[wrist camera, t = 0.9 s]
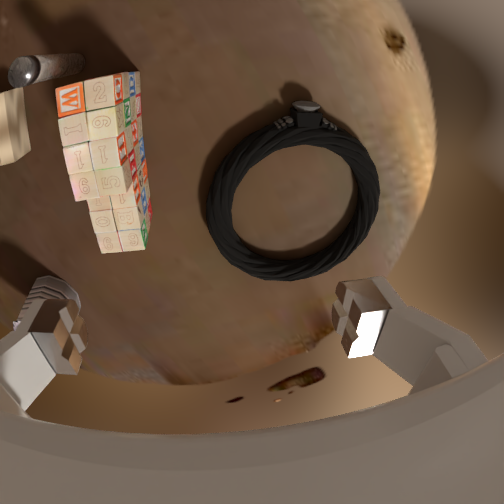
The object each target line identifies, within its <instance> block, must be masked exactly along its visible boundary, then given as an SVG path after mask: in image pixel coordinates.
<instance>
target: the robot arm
mask: <svg viewBox="0 0 504 504" xmlns="http://www.w3.org/2000/svg"><path fill="white" fill-rule="evenodd" d="M335 293H336V295H337V297H338V299H337V300H336V301H335V302H334V303H333V307H332V322H333V326H334V328H335V331H336V332H337V333H338V334H340V335H342V336H343V337H342V341H341V344H342V345H343V348H344V350H345V352H346V354H347V356H348V358H351V357H356V356H361V355H367V354H372V353H373V354H372V355H373V356H375V357H376V358H377V359H379V360H380V361H381V362H383V363H384V364H385V365H386V366H388V367H389V368H390V369H392V370H393V371H394V372H396V373H397V374H398V375H399V376H401V377H402V378H403V379H405V380H406V381H407V382H409V383H410V384H411V385H412V386H413V387H412V389H411V390H410V392H409V393H408V395H407V396H404V397H402V398H399V399H395V400H392V401H390V402H386V403H383V404H379V405H376V406H373V407H369V408H366V409H362V410H358V411H354V412H351V413H346V414H343V415H338V416H334V417H329V418H325V419H320V420H315V421H309V422H304V423H298V424H293V425H287V426H280V427H273V428H266V429H258V430H248V431H238V432H225V433H210V434H139V433H123V432H112V431H102V430H93V429H86V428H78V427H72V426H66V425H60V424H55V423H49V422H45V421H40V420H35V419H32V418H31V417H30V416H29V415H28V414H27V413H26V412H25V410H26V409H27V408H28V407H29V406H30V404H31V403H32V402H33V401H34V400H35V398H36V397H37V396H38V395H39V394H40V393H41V391H42V390H43V389H44V388H45V387H46V386H47V385H48V383H49V382H50V381H51V380H52V379H53V378H54V377H55V375H56V374H73V375H77V374H78V371H79V367H80V364H81V361H82V357H81V355H80V353H81V352H82V351H83V350H84V349H85V348H86V346H87V342H88V330H87V326H86V324H85V321H84V320H83V319H82V318H81V317H80V316H79V315H78V312H79V307H78V305H77V303H76V301H75V300H73V299H35V300H33V302H32V303H31V305H30V307H29V308H28V310H27V312H26V313H25V315H24V317H23V318H22V320H21V322H20V324H19V325H18V327H17V329H16V331H12V332H10V333H9V334H8V335H6V336H5V337H4V338H2V339H1V340H0V504H504V353H503V354H501V355H499V356H498V357H496V358H494V359H492V360H490V361H488V360H487V359H486V357H485V356H484V354H483V353H482V352H481V350H480V349H479V348H478V346H477V345H476V344H475V342H474V341H473V340H472V338H471V337H470V336H469V335H468V334H466V333H464V332H462V331H460V330H458V329H456V328H454V327H452V326H450V325H448V324H446V323H444V322H442V321H440V320H438V319H436V318H434V317H432V316H430V315H428V314H427V313H424V312H423V311H421V310H419V309H417V308H415V307H413V306H407V305H406V304H405V303H404V302H403V300H402V299H401V298H400V296H399V295H398V294H397V292H396V291H395V290H394V289H393V288H392V286H391V285H390V284H389V282H388V281H387V280H386V279H385V278H384V277H382V276H377V277H371V278H367V279H359V280H351V281H342V282H339V283H338V285H337V287H336V292H335ZM55 373H56V374H55Z"/></svg>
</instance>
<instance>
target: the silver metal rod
mask: <svg viewBox="0 0 504 504" xmlns="http://www.w3.org/2000/svg"><path fill="white" fill-rule="evenodd" d="M84 66H85V59H84V57H83V55H81V54H78V53H76V54H49V55H35V56H33V55H30V56H21V57H19V58H17V59H15V60H14V61H13V63H12V64H11V66H10V68H9V71H8V80H9V83H10V84H11V85H12V86H13V87H15V88H21V87H24V86H28V85H31V84H33V83H37V82H41V81H46V80H50V79H54V78H59V77H64V76H69V75H74V74H78V73H79V72H81V71H82V69H83V68H84Z"/></svg>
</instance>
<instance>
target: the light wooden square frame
mask: <svg viewBox="0 0 504 504" xmlns="http://www.w3.org/2000/svg"><path fill="white" fill-rule="evenodd" d="M30 150H31V147H30V141H29V135H28V129H27V122H26V114H25V105H24V95H23V87H21V88H15V89H12V90H9V91H6V92H3V93H0V166H1V165H5V164H9V163H13V162H15V161H17V160H18V159H19V158H21V157H22V156H23V155H25V154H26V153H28V152H29V151H30Z"/></svg>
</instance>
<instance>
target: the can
mask: <svg viewBox="0 0 504 504" xmlns="http://www.w3.org/2000/svg"><path fill="white" fill-rule="evenodd" d="M35 299H73V300H75V301H76V303H77V305H78V307H79V310H80V307H81V304H80V301H79V297H78V293H77V292H76V291H75V290H74V289H73V288H72V287H71V286H70V285H69V284H68V283H67V282H66V281H64V280H61V279H58V278H56V277H53V276H50V275H48V276H44V277H39V278H37V279H36V281H35V283H34V285H33V287H32V289H31V291H30V293H29V295H28V297H27V299H26V301H25V303H24V306H23V308H22V310H21V312H20V314H19V317H18V319H17V321H13V326H14V331H16V329H17V327H18V325H19V324H20V322H21V320H22V318H23V317H24V315H25V313H26V312H27V310H28V308H29V307H30V305H31V303H32V302H33V300H35ZM78 313H79V312H78Z"/></svg>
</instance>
